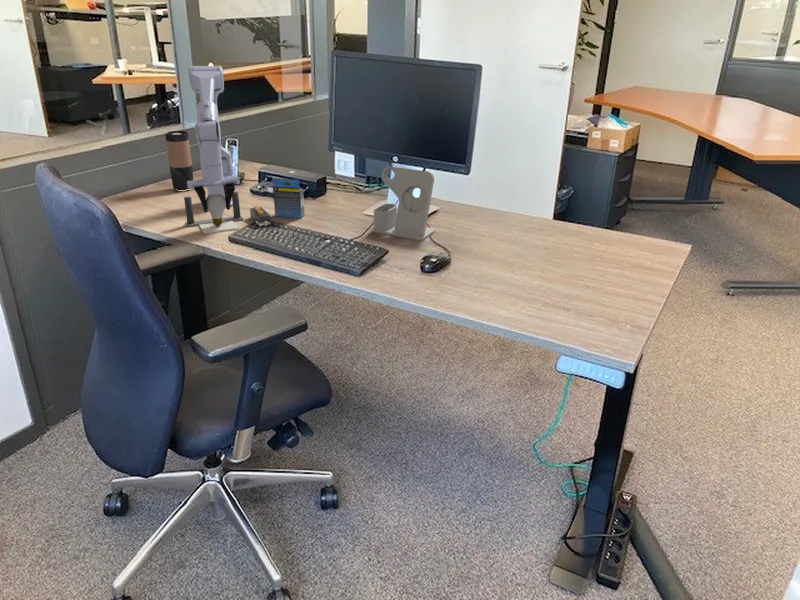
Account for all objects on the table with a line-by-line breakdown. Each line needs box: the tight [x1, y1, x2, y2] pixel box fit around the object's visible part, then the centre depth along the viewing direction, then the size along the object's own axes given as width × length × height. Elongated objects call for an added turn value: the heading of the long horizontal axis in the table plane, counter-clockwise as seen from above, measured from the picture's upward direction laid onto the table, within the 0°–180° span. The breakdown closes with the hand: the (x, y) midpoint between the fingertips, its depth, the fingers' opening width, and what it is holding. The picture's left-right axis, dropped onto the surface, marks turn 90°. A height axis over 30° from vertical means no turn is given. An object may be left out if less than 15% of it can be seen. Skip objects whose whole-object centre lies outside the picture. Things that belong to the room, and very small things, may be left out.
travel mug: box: [164, 130, 194, 190], centre depth 221 cm, size 8×8×20 cm
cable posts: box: [183, 191, 244, 228], centre depth 190 cm, size 3×17×8 cm, turn 117°
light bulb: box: [206, 193, 226, 226], centre depth 185 cm, size 6×6×10 cm
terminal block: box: [249, 205, 272, 223], centre depth 192 cm, size 10×4×4 cm, turn 27°
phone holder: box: [371, 166, 436, 241], centre depth 183 cm, size 17×10×18 cm, turn 64°
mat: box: [199, 221, 239, 235], centre depth 187 cm, size 8×10×1 cm
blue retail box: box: [271, 177, 305, 219], centre depth 196 cm, size 9×4×12 cm, turn 80°
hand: (216, 210), depth 185 cm, fingers open, 6 cm apart
